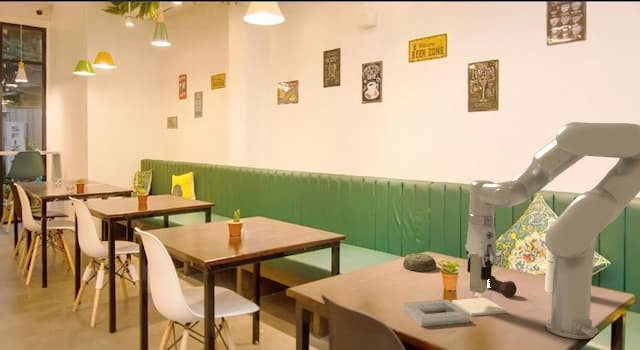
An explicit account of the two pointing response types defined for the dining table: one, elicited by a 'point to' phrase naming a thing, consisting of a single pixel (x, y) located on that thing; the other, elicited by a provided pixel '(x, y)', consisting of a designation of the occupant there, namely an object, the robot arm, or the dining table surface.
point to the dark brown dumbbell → (503, 286)
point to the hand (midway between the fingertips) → (478, 275)
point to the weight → (419, 262)
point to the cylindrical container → (549, 265)
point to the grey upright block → (477, 274)
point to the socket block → (450, 317)
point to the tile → (479, 306)
